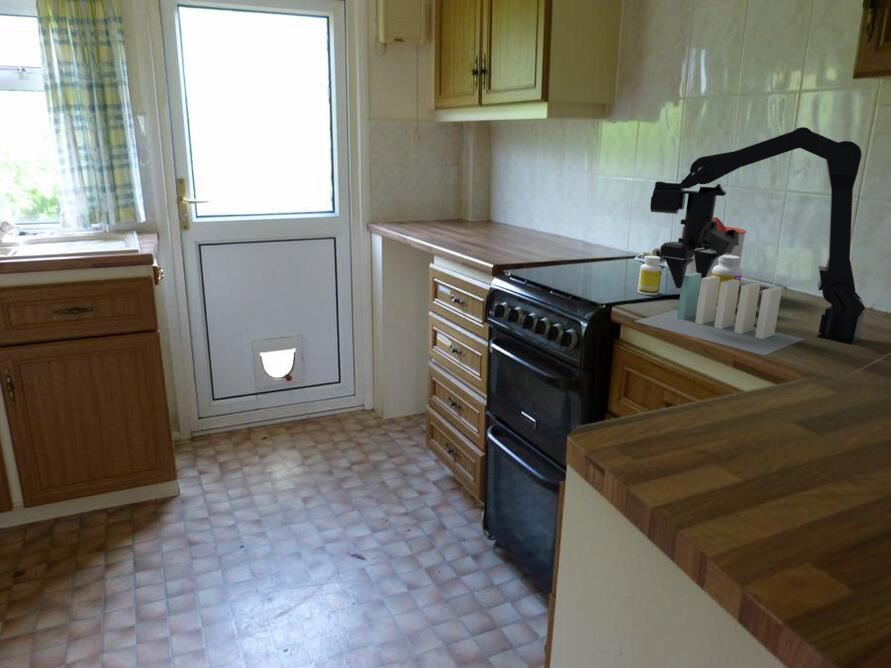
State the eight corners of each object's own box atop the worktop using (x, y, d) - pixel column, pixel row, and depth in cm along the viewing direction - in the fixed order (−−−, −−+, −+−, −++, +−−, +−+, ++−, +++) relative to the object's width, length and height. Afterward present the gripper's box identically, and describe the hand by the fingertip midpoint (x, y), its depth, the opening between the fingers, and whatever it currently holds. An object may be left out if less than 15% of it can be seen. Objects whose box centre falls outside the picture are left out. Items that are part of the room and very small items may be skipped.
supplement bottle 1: (661, 296, 172) (665, 258, 169) (640, 295, 172) (644, 258, 169) (655, 291, 177) (659, 255, 174) (635, 290, 177) (639, 254, 174)
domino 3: (752, 329, 141) (760, 284, 138) (741, 333, 138) (749, 287, 135) (745, 328, 142) (753, 283, 140) (734, 332, 139) (741, 285, 137)
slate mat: (804, 340, 136) (804, 338, 136) (763, 356, 125) (764, 355, 125) (678, 310, 157) (678, 309, 157) (633, 322, 146) (633, 321, 146)
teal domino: (677, 318, 149) (682, 274, 146) (689, 314, 152) (695, 272, 149) (683, 319, 148) (689, 276, 145) (695, 316, 151) (701, 273, 148)
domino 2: (732, 325, 145) (739, 280, 142) (721, 328, 142) (728, 283, 139) (725, 323, 146) (732, 279, 143) (714, 327, 143) (720, 282, 140)
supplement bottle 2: (732, 313, 156) (740, 259, 152) (703, 308, 160) (710, 256, 156) (739, 308, 161) (747, 256, 157) (711, 303, 165) (718, 252, 161)
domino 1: (713, 320, 148) (720, 277, 145) (701, 324, 145) (708, 279, 142) (706, 319, 149) (713, 275, 146) (695, 322, 146) (701, 278, 143)
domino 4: (773, 335, 138) (782, 288, 135) (762, 339, 135) (770, 291, 132) (766, 333, 139) (774, 286, 136) (755, 337, 136) (763, 290, 133)
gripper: (711, 222, 132) (701, 298, 136) (756, 217, 144) (744, 287, 148) (662, 216, 140) (654, 288, 145) (708, 212, 152) (699, 278, 156)
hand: (689, 285), depth 148 cm, fingers open, 9 cm apart
